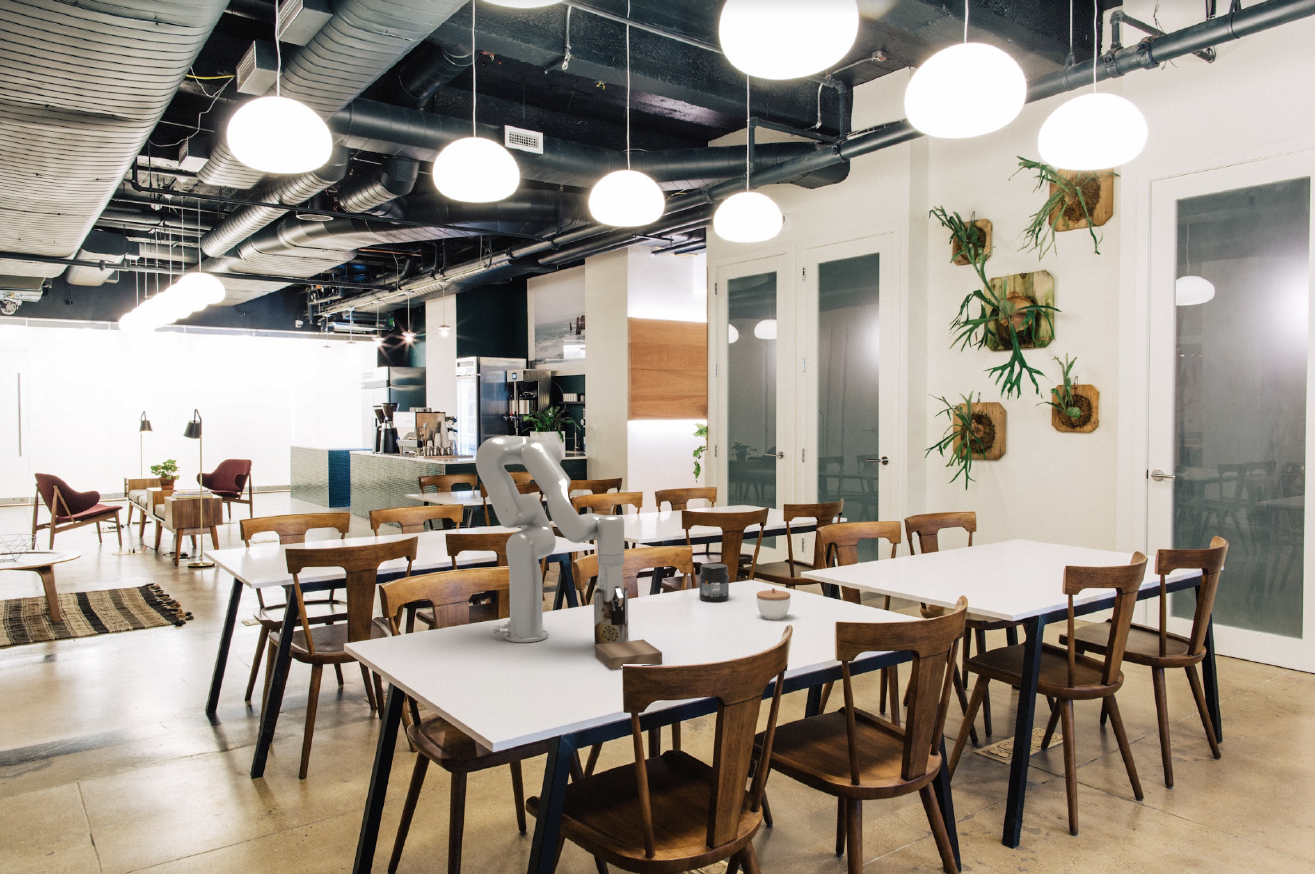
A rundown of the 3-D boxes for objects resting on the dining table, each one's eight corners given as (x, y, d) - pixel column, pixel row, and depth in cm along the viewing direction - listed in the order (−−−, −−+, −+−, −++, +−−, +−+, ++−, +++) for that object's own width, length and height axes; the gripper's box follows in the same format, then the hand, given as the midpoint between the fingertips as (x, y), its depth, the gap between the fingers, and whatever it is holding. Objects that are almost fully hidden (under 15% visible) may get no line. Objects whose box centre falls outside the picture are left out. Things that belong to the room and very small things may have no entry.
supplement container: (714, 595, 305) (714, 562, 305) (735, 599, 297) (735, 565, 297) (693, 599, 299) (692, 565, 298) (713, 604, 290) (713, 569, 290)
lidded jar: (792, 621, 265) (792, 591, 265) (758, 621, 265) (758, 592, 265) (788, 613, 276) (787, 585, 275) (755, 613, 276) (755, 585, 276)
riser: (611, 669, 215) (611, 658, 215) (595, 655, 228) (594, 644, 228) (662, 663, 220) (662, 652, 220) (643, 650, 233) (643, 639, 233)
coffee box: (629, 644, 239) (628, 587, 239) (626, 650, 233) (625, 592, 233) (597, 643, 240) (597, 586, 240) (593, 649, 234) (593, 591, 234)
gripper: (589, 555, 243) (589, 615, 243) (607, 565, 227) (608, 629, 227) (614, 554, 246) (614, 613, 246) (634, 563, 229) (634, 626, 230)
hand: (611, 620), depth 236 cm, fingers closed on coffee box, 8 cm apart
